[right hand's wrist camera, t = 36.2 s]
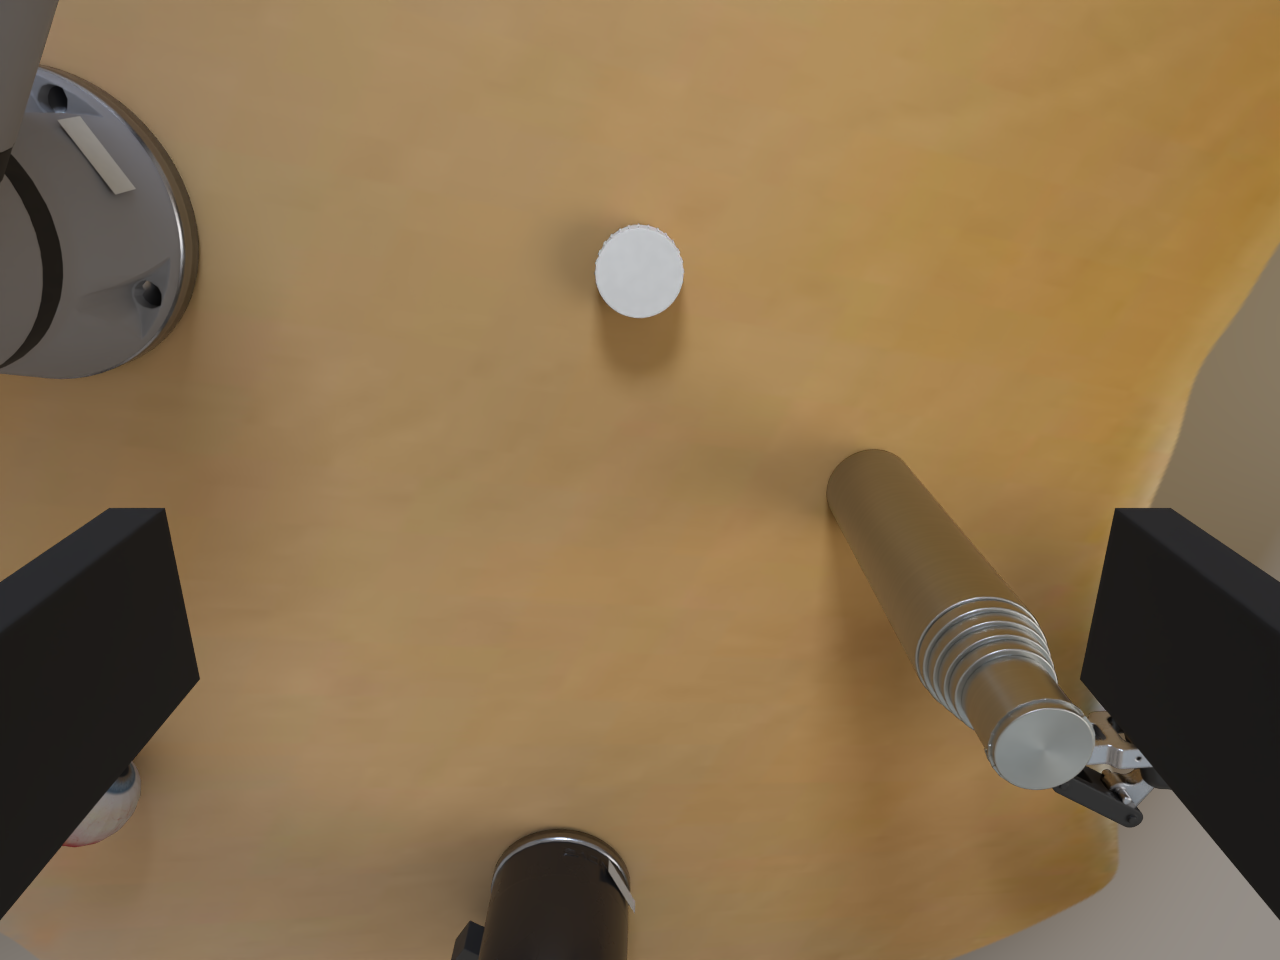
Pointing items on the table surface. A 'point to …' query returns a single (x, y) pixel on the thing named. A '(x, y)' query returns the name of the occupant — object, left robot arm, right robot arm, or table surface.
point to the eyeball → (109, 810)
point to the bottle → (959, 622)
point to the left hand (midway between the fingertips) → (1065, 641)
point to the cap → (639, 271)
